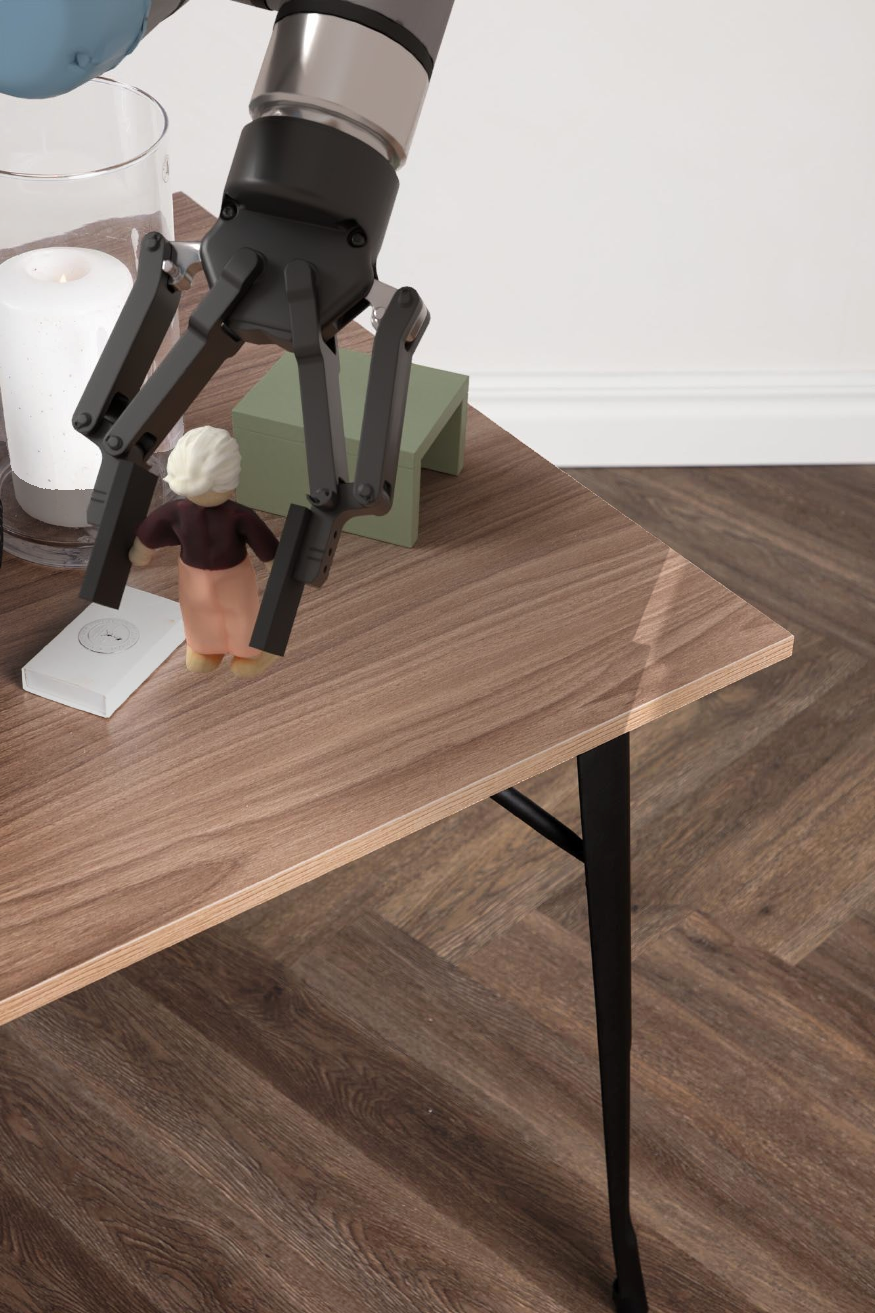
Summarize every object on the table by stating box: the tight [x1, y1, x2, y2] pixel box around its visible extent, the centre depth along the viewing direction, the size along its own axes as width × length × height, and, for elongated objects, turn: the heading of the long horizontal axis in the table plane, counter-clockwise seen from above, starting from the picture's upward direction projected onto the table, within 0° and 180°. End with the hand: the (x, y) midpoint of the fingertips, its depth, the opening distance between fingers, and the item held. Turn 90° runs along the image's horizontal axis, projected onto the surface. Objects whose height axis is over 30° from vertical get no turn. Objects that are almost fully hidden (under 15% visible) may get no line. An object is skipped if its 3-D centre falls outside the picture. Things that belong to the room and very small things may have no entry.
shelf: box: [231, 346, 470, 549], centre depth 91 cm, size 12×10×7 cm
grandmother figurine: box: [128, 424, 280, 679], centre depth 65 cm, size 8×4×13 cm, turn 92°
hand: (181, 626), depth 64 cm, fingers closed on grandmother figurine, 8 cm apart
